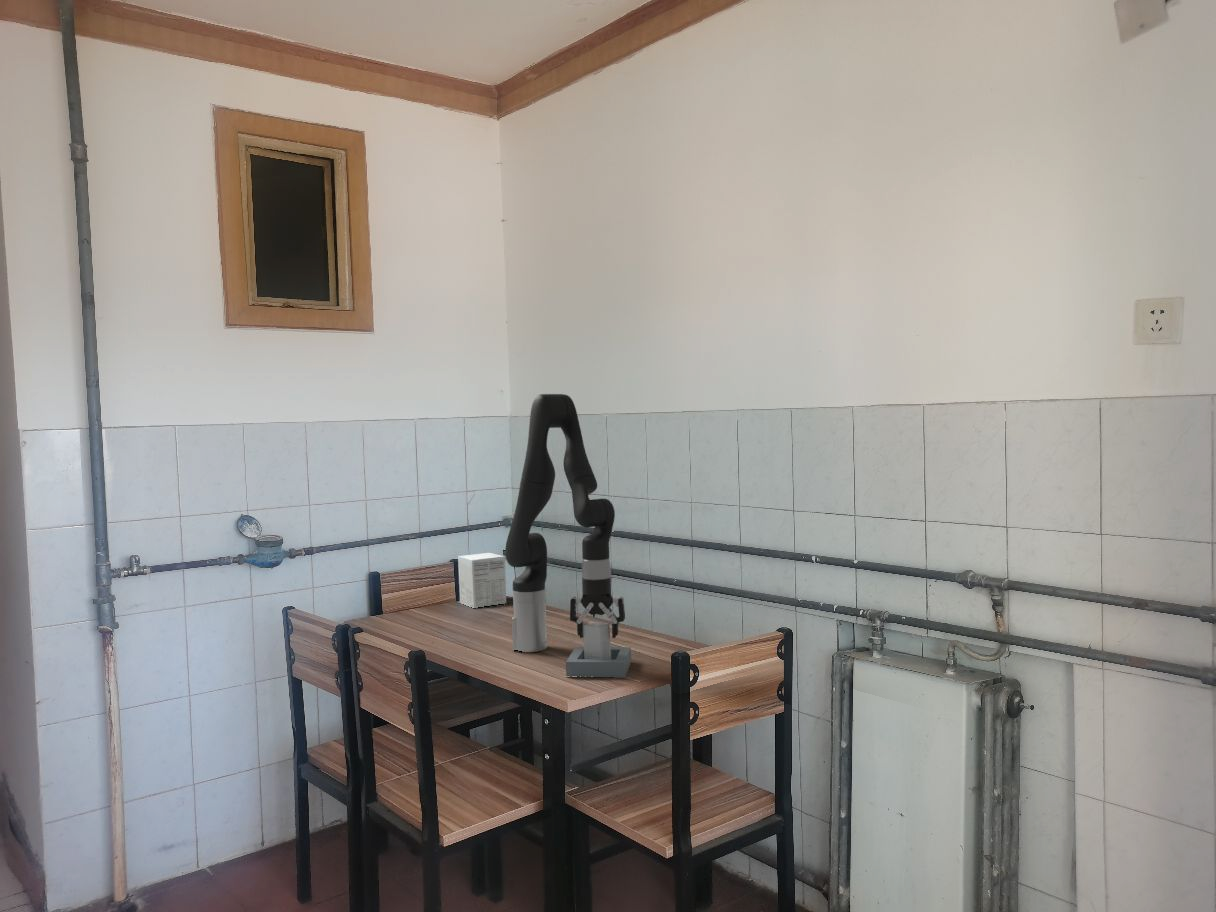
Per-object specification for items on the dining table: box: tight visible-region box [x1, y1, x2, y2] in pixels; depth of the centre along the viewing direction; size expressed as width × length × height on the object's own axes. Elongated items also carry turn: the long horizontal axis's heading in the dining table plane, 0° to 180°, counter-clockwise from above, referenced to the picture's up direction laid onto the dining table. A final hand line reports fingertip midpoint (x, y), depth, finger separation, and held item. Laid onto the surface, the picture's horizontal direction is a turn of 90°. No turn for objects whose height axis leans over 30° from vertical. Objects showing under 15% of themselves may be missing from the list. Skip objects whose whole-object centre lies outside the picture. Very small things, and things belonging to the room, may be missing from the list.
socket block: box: [565, 646, 632, 679], centre depth 237 cm, size 15×15×4 cm
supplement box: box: [457, 552, 507, 609], centre depth 328 cm, size 13×13×18 cm
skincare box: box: [582, 621, 612, 659], centre depth 237 cm, size 6×4×12 cm
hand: (598, 637), depth 237 cm, fingers open, 8 cm apart
